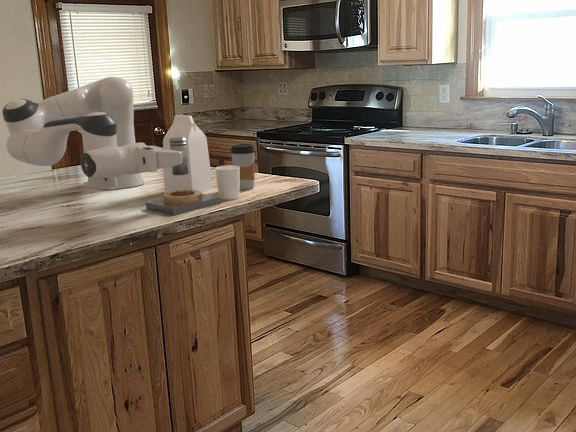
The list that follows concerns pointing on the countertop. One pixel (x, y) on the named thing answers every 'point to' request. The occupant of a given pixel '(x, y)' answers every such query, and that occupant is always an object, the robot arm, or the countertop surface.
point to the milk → (189, 157)
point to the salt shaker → (182, 168)
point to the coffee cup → (244, 164)
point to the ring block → (182, 201)
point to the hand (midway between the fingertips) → (181, 152)
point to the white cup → (228, 181)
